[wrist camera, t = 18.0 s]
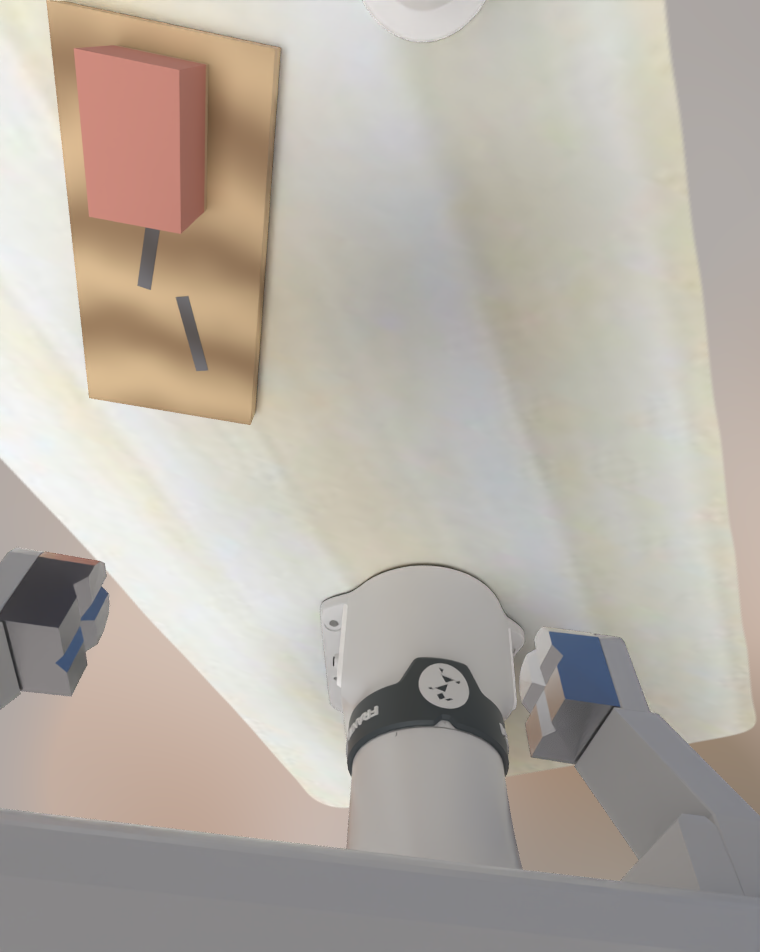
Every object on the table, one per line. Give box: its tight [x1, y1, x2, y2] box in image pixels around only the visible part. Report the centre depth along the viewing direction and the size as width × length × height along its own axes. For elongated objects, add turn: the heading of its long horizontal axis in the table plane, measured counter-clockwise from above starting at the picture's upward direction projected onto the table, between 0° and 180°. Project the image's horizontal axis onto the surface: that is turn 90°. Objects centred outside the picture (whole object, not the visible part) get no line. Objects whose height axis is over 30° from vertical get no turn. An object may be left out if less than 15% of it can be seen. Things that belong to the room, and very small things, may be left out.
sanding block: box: [74, 45, 208, 234], centre depth 31 cm, size 7×4×5 cm, turn 170°
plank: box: [46, 0, 281, 425], centre depth 38 cm, size 22×11×2 cm, turn 170°
